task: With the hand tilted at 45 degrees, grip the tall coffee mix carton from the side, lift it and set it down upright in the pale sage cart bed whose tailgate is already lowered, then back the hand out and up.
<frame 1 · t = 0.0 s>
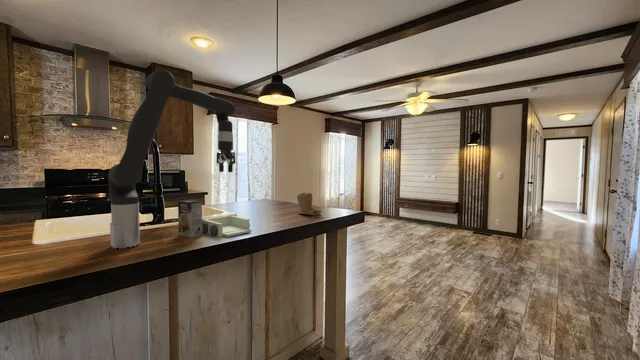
hand: (225, 172, 146), 29 cm above the counter, tool pointing down, fingers open, 8 cm apart
cart bed: (225, 231, 139), on the counter
coffee box: (190, 235, 131), on the counter
brown boot: (307, 214, 187), on the counter
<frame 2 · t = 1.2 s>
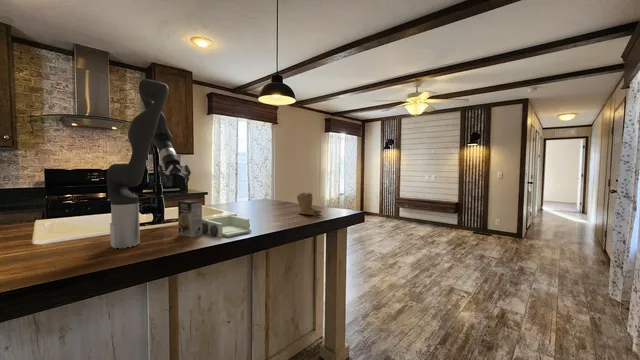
hand: (178, 181, 138), 25 cm above the counter, tool tilted 45°, fingers open, 8 cm apart
nothing on the counter moved.
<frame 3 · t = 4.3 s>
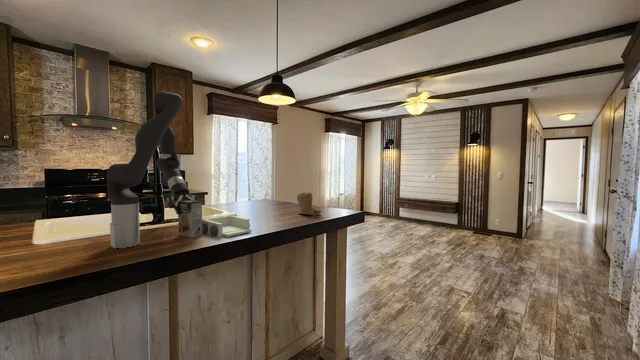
hand: (189, 212, 131), 10 cm above the counter, tool tilted 45°, fingers open, 8 cm apart
coffee box: (190, 235, 131), on the counter, touching gripper
everything else where it was.
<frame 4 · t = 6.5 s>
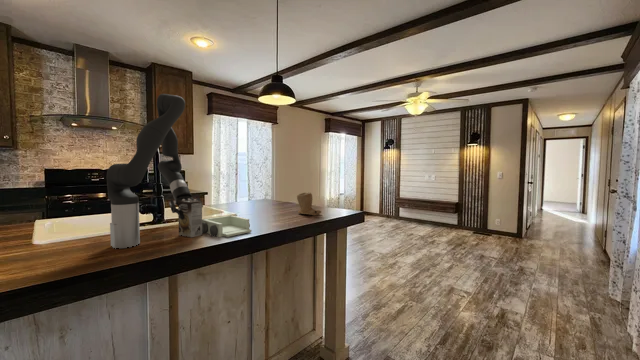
hand: (191, 217, 130), 9 cm above the counter, tool tilted 45°, fingers closed on coffee box, 7 cm apart
coffee box: (190, 235, 131), on the counter, touching gripper
everything else where it was.
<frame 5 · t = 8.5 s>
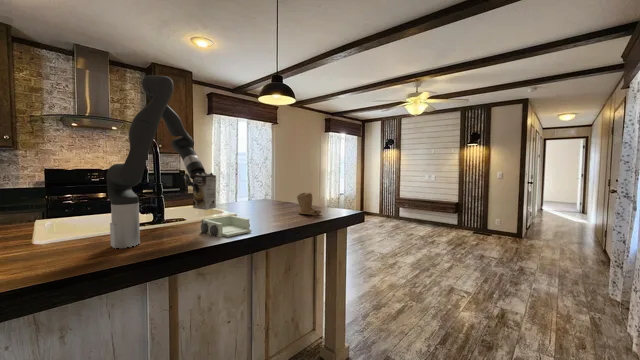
hand: (206, 190, 133), 21 cm above the counter, tool tilted 45°, fingers closed on coffee box, 7 cm apart
coffee box: (204, 208, 134), point 12 cm above the counter, touching gripper
everything else where it was.
when the fingers open (11 cm above the counter, at t = 11.5 s): coffee box stays where it is, resting on cart bed.
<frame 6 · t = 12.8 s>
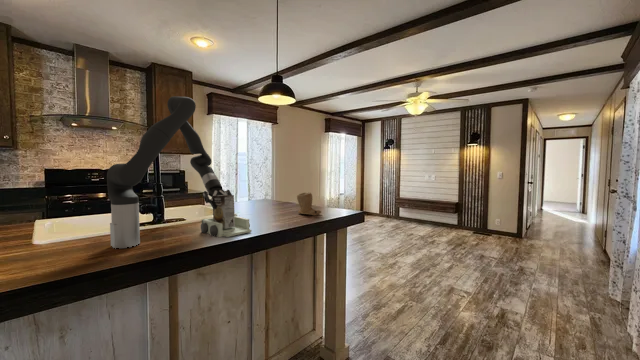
hand: (223, 207, 139), 12 cm above the counter, tool tilted 45°, fingers open, 8 cm apart
coffee box: (224, 227, 138), point 2 cm above the counter, touching cart bed, gripper
everything else where it was.
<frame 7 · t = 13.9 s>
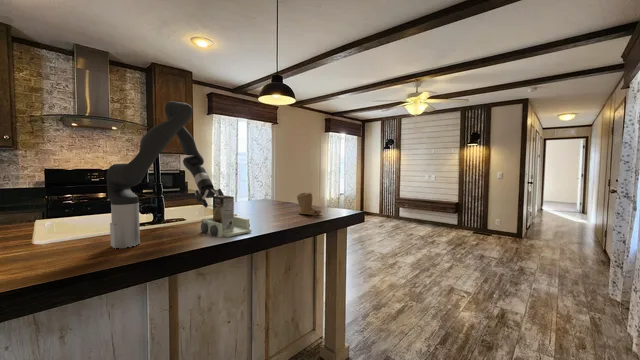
hand: (214, 205, 145), 12 cm above the counter, tool tilted 45°, fingers open, 8 cm apart
coffee box: (223, 228, 138), point 1 cm above the counter, touching cart bed
everything else where it was.
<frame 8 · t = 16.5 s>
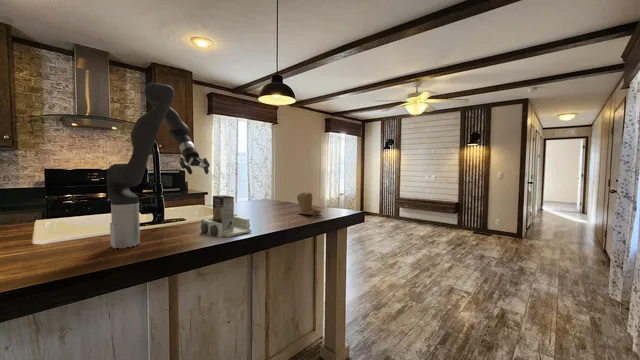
hand: (199, 173, 144), 29 cm above the counter, tool tilted 45°, fingers open, 8 cm apart
nothing on the counter moved.
at the end: coffee box inside the target area on the cart bed (1.8 cm from its centre), point 1.3 cm above the cart bed's base; coffee box tilted 0°; the gripper is holding nothing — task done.
